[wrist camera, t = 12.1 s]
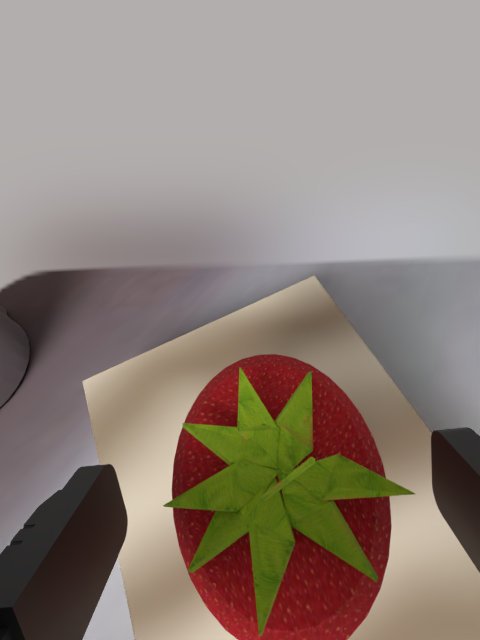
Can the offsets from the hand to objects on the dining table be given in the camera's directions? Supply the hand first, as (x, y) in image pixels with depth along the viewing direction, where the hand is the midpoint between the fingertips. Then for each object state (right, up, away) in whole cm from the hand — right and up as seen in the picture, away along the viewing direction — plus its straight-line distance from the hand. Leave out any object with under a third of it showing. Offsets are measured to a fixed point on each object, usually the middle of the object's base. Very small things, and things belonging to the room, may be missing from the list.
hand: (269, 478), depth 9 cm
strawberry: (+1, -3, +6) cm, 7 cm away
